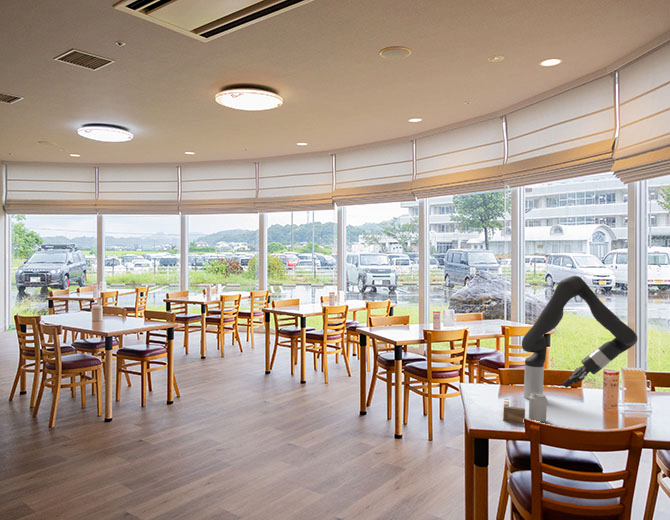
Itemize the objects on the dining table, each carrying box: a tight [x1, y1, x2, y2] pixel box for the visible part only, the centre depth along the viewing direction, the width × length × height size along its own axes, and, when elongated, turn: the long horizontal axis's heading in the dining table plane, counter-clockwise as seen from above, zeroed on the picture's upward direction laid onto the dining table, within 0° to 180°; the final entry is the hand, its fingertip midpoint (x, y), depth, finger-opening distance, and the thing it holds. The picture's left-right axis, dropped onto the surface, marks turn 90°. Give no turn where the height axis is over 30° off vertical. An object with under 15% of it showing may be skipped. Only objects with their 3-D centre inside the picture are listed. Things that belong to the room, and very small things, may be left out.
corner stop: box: [502, 398, 526, 424], centre depth 232 cm, size 14×9×7 cm, turn 160°
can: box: [528, 393, 548, 423], centre depth 229 cm, size 8×8×12 cm
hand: (564, 385), depth 225 cm, fingers closed
